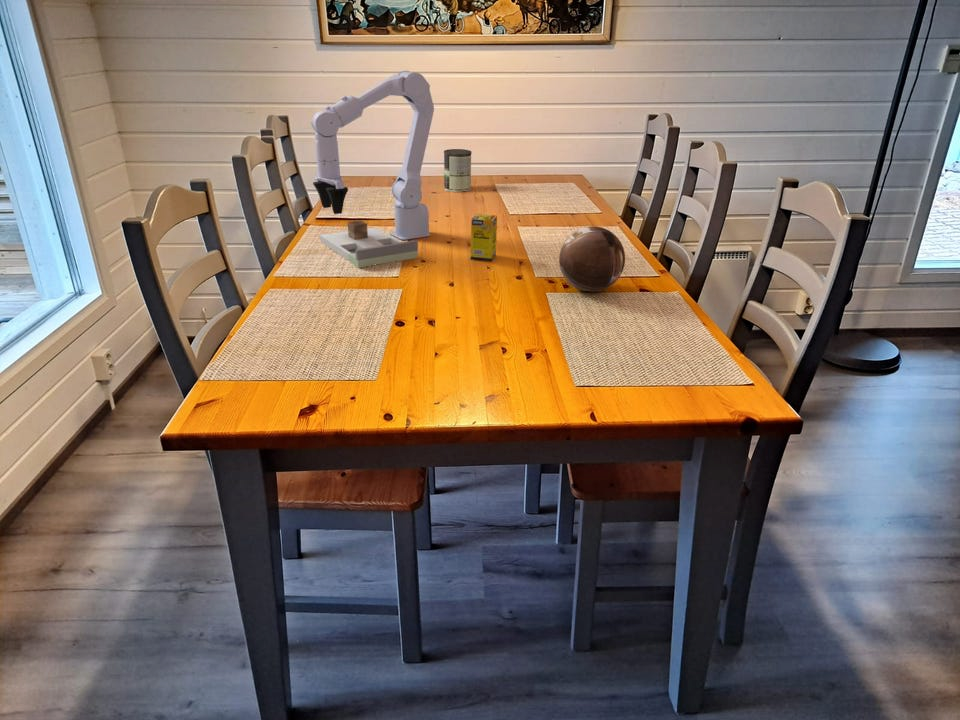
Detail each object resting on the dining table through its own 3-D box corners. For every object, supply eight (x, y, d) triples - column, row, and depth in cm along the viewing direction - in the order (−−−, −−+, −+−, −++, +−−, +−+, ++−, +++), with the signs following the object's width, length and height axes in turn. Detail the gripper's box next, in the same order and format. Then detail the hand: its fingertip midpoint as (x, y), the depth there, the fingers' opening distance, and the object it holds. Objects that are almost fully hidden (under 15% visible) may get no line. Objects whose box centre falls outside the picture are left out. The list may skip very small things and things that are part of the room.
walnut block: (361, 234, 185) (361, 220, 183) (367, 237, 182) (367, 223, 180) (348, 236, 183) (347, 222, 181) (354, 239, 180) (353, 225, 178)
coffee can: (438, 189, 249) (438, 151, 242) (455, 185, 256) (455, 148, 250) (459, 193, 244) (460, 154, 237) (476, 189, 251) (477, 151, 245)
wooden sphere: (545, 283, 158) (550, 222, 152) (598, 276, 164) (605, 216, 157) (577, 305, 146) (584, 239, 139) (633, 296, 152) (642, 233, 145)
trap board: (375, 234, 193) (374, 218, 191) (417, 257, 173) (417, 241, 171) (320, 242, 184) (318, 226, 182) (358, 268, 165) (357, 250, 163)
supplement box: (492, 261, 172) (493, 220, 167) (470, 259, 173) (470, 218, 168) (496, 255, 177) (497, 215, 173) (474, 253, 178) (475, 213, 174)
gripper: (303, 156, 178) (308, 206, 184) (324, 165, 167) (328, 218, 173) (328, 154, 181) (332, 203, 187) (349, 163, 171) (353, 214, 177)
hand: (332, 210), depth 180 cm, fingers open, 7 cm apart
